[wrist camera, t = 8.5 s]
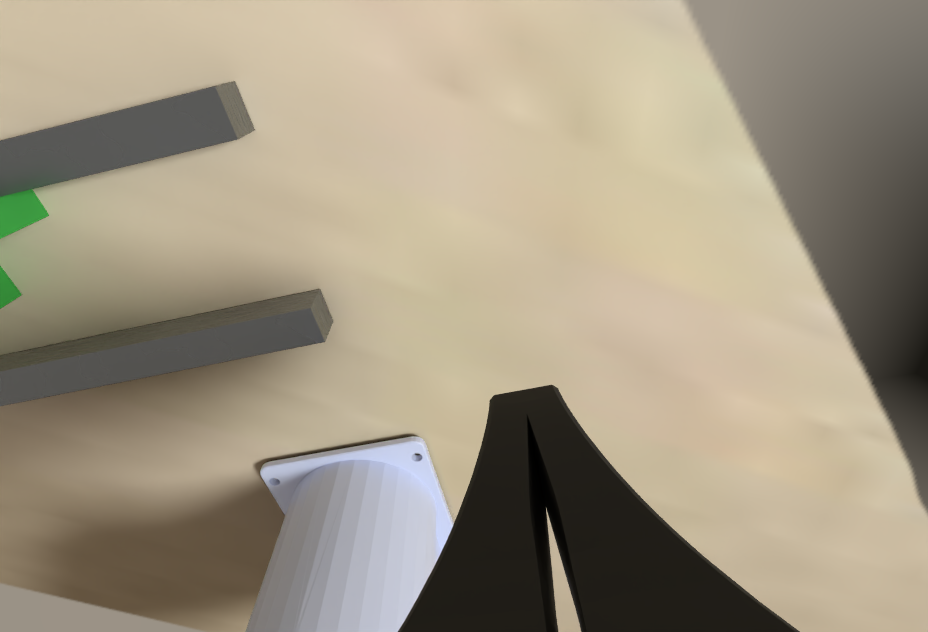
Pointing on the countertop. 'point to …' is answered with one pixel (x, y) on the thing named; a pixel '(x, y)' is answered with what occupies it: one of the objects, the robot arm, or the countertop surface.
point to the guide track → (167, 342)
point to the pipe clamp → (9, 217)
